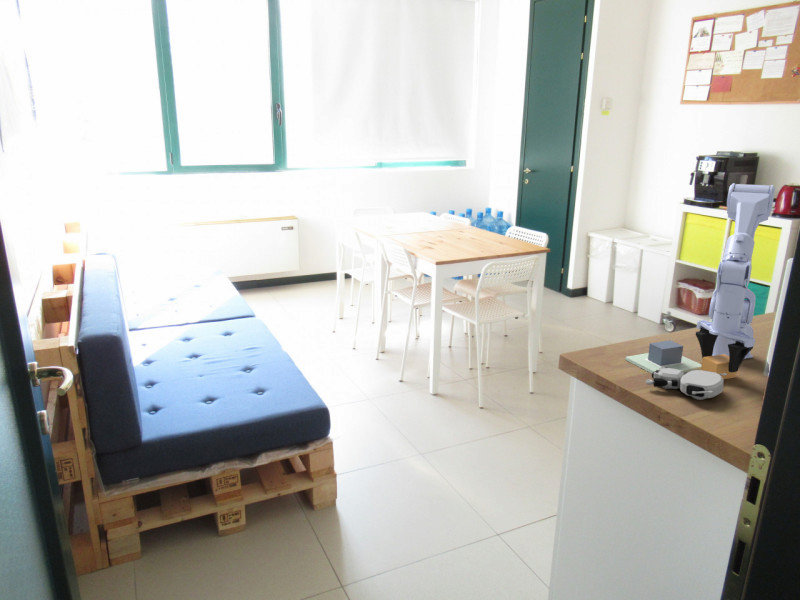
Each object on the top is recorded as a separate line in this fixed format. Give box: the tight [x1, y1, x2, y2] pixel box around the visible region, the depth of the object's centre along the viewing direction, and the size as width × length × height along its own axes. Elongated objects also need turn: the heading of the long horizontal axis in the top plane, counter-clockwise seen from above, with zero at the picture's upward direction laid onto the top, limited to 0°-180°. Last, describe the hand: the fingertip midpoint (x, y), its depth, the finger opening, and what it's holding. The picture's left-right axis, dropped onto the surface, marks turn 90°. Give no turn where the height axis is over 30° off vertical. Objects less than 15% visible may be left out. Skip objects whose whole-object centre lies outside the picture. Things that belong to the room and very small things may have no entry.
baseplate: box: [624, 352, 702, 374], centre depth 150 cm, size 14×12×1 cm
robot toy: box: [645, 367, 727, 401], centre depth 135 cm, size 12×4×15 cm
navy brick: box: [648, 339, 684, 366], centre depth 149 cm, size 6×4×4 cm
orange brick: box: [701, 354, 738, 380], centre depth 143 cm, size 6×4×4 cm
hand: (719, 365), depth 142 cm, fingers open, 7 cm apart
